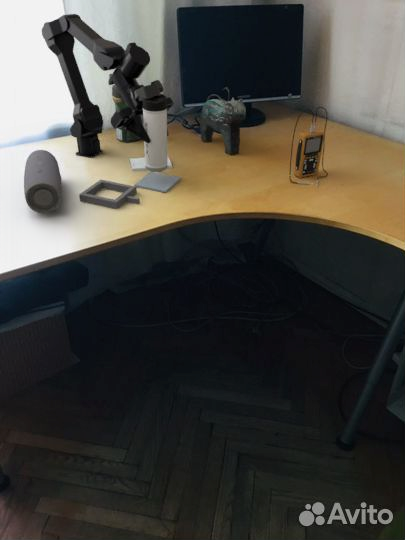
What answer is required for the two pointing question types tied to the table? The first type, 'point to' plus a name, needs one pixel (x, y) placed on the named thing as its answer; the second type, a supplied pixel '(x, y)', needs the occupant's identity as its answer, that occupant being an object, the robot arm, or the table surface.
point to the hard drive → (139, 164)
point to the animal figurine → (223, 121)
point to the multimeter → (309, 151)
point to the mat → (157, 182)
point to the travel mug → (155, 133)
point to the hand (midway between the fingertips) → (158, 139)
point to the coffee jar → (120, 132)
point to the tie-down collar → (106, 202)
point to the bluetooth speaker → (42, 182)
